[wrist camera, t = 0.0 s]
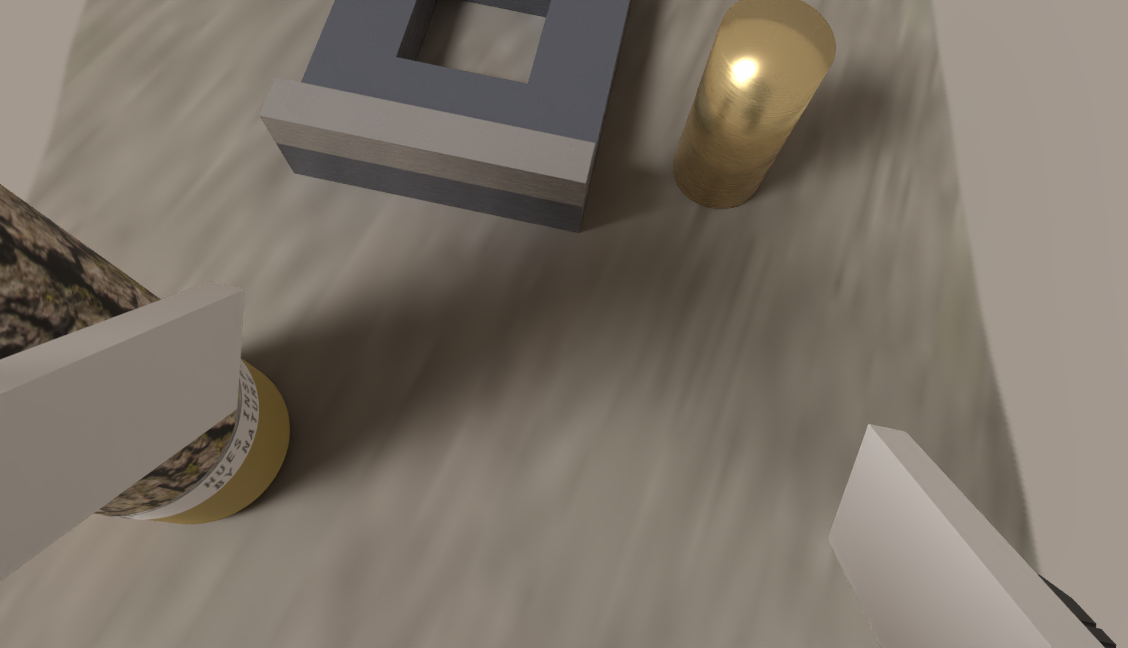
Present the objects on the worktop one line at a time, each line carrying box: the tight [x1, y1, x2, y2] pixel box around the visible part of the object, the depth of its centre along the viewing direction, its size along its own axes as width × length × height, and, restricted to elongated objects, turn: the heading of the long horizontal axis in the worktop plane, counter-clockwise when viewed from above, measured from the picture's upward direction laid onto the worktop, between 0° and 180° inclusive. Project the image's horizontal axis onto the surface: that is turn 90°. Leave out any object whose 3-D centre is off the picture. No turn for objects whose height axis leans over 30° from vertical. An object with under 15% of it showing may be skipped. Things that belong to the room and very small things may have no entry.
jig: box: [259, 0, 632, 233], centre depth 34 cm, size 18×14×4 cm
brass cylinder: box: [673, 0, 836, 209], centre depth 30 cm, size 4×4×9 cm
